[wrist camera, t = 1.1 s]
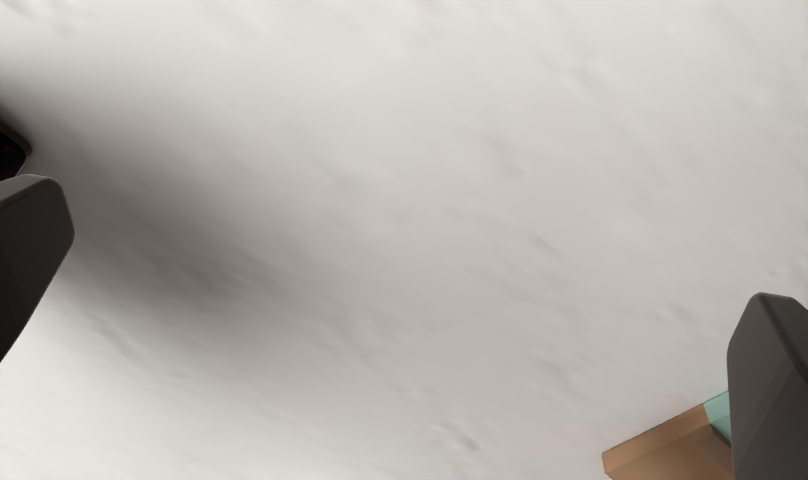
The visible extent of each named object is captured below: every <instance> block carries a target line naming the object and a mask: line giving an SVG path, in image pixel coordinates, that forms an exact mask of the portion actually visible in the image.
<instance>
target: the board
mask: <svg viewBox="0 0 808 480" xmlns="http://www.w3.org/2000/svg"><path fill="white" fill-rule="evenodd" d="M602 458H603V464H604V470H605V474H606V475H608V476H609V477H610V478H611V479H613V480H735V479H734V472H733V461H732V446H731V428H730V410H729V392H728V391H727V392H725V393H723V394H721V395H719V396H717V397H715V398H713V399H711V400H709V401H707V402H705V403H703V404H701V405H699V406H697V407H695V408H693V409H691V410H689V411H687V412H685V413H683V414H681V415H679V416H677V417H675V418H673V419H671V420H669V421H667V422H665V423H663V424H661V425H659V426H657V427H655V428H653V429H651V430H649V431H647V432H645V433H643V434H641V435H639V436H637V437H635V438H633V439H631V440H629V441H627V442H625V443H623V444H621V445H619V446H617V447H614V448H612V449H610V450H608V451H606V452H604V453H602Z"/></svg>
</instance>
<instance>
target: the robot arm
mask: <svg viewBox="0 0 808 480" xmlns="http://www.w3.org/2000/svg"><path fill="white" fill-rule="evenodd" d="M11 147H13V148H15V149H16V150H17V151H18V153H16V152H14V151H13V150H12V148H11ZM31 156H32V148H31V146H30V144H29V143H28V142H27V141H26V140H25V139H24V138H23V137H22V136H20V135H19V134H18V133H16V132H15V131H13V130H12V129H11V128H9V127H8V126H7V125H5V124H4V123H2V122H1V121H0V362H1V361H2V360H3V358H4V357H5V356H6V354H7V353H8V351H9V350H10V349H11V347H12V346H13V344H14V343H15V341H16V340H17V338H18V337H19V335H20V334H21V332H22V331H23V329H24V327H25V326H26V324H27V323H28V321H29V319H30V318H31V316H32V314H33V312H34V311H35V309H36V307H37V305H38V304H39V302H40V300H41V298H42V297H43V295H44V293H45V291H46V290H47V288H48V286H49V284H50V283H51V281H52V279H53V277H54V276H55V274H56V272H57V270H58V269H59V267H60V265H61V263H62V262H63V260H64V258H65V256H66V255H67V253H68V251H69V249H70V248H71V246H72V243H73V240H74V235H75V229H74V224H73V221H72V217H71V214H70V210H69V207H68V204H67V200H66V197H65V194H64V190H63V187H62V185H61V184H60V183H59V181H58V180H56V179H54V178H52V177H46V176H40V175H34V174H23V175H20V176H18V175H19V173H20V172H21V171H22V169H23V168H24V166H25V165H26V163H27V162H28V161H29V159H30V158H31ZM727 374H728V392H729V410H730V428H731V446H732V461H733V472H734V479H735V480H808V310H807V309H806V308H805V307H804V306H802V305H801V304H800V303H799V302H798V301H796V300H795V299H793V298H791V297H787V296H781V295H774V294H768V293H757V294H755V295H753V296H752V298H751V299H750V300H749V302H748V304H747V306H746V308H745V310H744V312H743V314H742V316H741V319H740V321H739V323H738V325H737V327H736V329H735V331H734V333H733V335H732V338H731V340H730V342H729V346H728V351H727Z"/></svg>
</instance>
